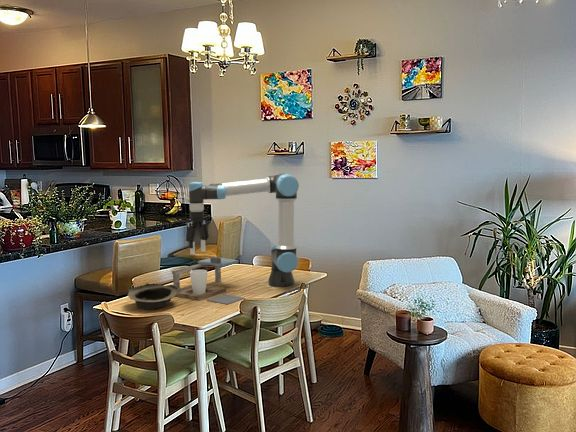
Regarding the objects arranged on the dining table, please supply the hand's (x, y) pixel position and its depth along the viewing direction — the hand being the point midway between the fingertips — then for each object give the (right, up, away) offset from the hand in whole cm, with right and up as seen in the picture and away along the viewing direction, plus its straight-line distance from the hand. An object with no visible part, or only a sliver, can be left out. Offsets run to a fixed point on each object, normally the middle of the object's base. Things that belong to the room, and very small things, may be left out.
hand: (198, 252), depth 295 cm
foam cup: (0, -23, +3) cm, 23 cm away
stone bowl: (-20, -26, -18) cm, 37 cm away
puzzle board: (+4, -22, +13) cm, 26 cm away
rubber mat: (+16, -24, -8) cm, 30 cm away
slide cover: (+9, -7, +19) cm, 22 cm away
